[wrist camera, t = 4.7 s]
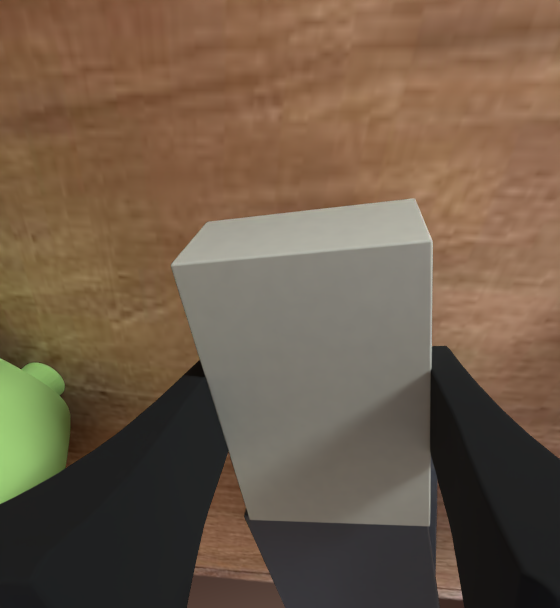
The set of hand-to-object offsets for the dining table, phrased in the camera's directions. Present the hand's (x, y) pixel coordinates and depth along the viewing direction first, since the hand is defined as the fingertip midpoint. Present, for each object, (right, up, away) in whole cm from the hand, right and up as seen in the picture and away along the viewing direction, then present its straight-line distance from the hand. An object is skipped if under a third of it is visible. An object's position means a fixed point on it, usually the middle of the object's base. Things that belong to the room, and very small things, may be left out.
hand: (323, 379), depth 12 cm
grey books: (+2, -7, +8) cm, 11 cm away
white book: (0, +1, +1) cm, 1 cm away
